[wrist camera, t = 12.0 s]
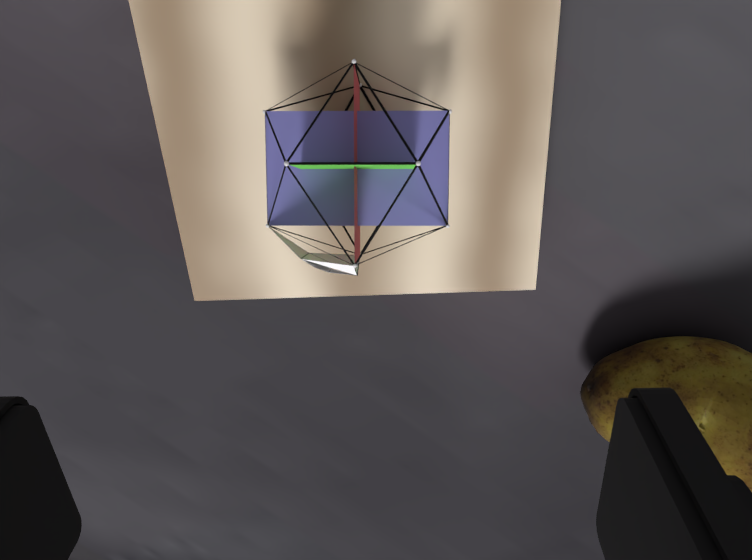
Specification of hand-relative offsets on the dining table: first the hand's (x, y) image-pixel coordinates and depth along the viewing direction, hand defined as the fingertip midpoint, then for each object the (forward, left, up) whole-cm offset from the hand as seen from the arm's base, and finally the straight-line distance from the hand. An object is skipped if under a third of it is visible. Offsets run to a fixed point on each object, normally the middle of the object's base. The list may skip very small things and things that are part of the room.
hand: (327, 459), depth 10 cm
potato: (-18, +14, -21) cm, 31 cm away
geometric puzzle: (0, 0, -18) cm, 18 cm away
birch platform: (0, 0, -21) cm, 21 cm away
